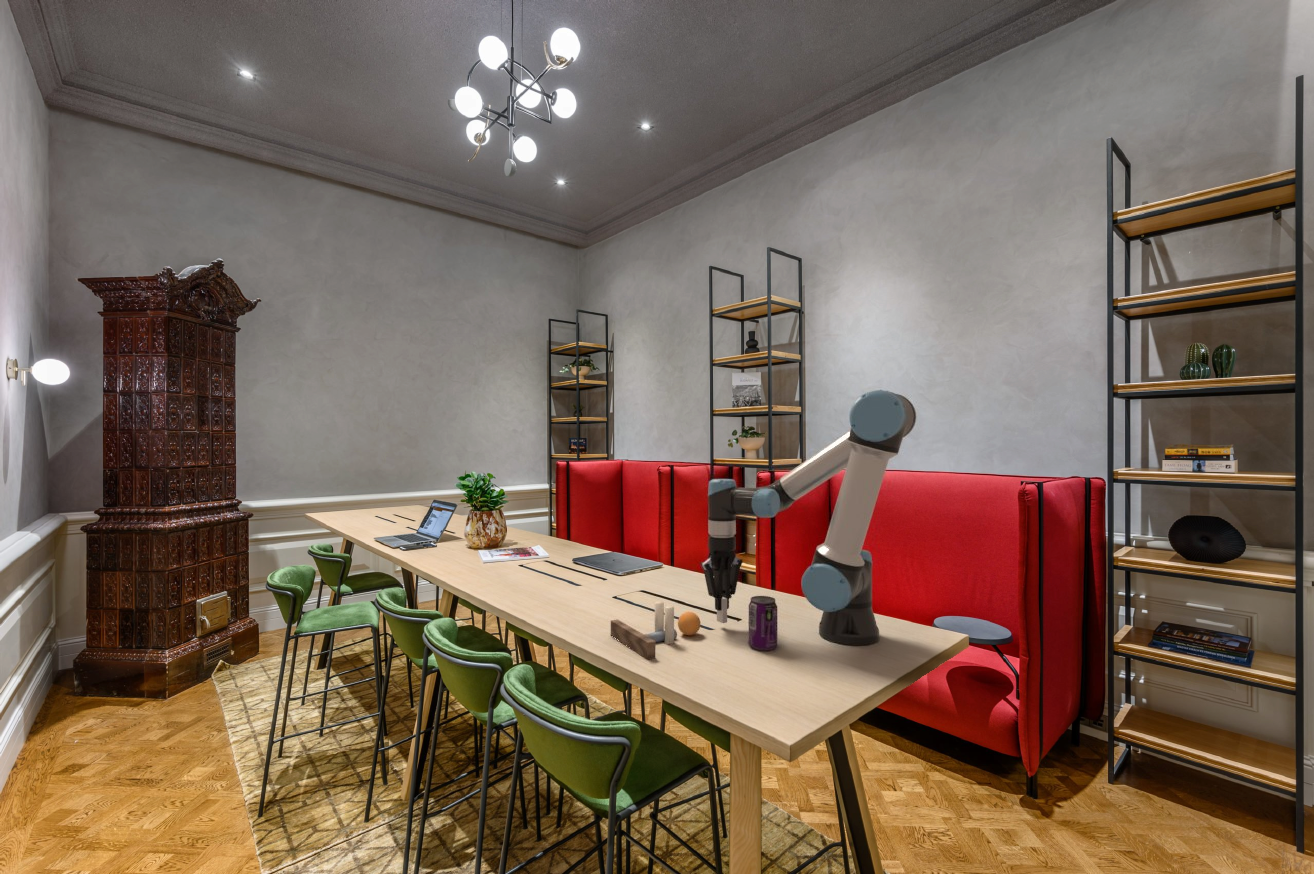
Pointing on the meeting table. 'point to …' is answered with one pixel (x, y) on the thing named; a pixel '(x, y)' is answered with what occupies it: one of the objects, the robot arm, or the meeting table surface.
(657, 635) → the front pin
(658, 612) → the rear pin right
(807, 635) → the meeting table surface
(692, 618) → the ball
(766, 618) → the beverage can
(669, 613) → the rear pin left
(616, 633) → the walnut rail
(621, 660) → the meeting table surface
